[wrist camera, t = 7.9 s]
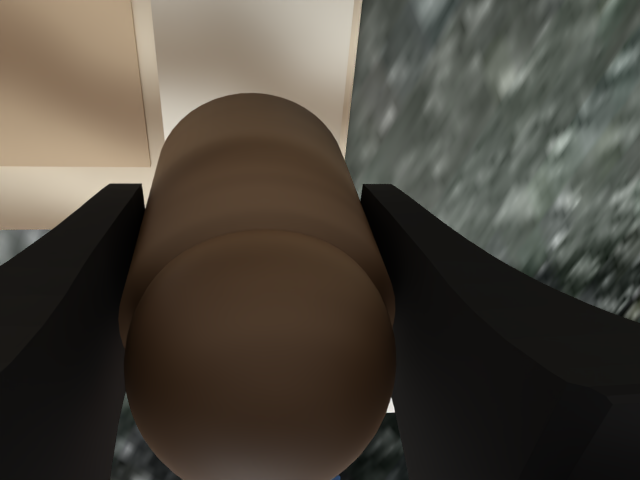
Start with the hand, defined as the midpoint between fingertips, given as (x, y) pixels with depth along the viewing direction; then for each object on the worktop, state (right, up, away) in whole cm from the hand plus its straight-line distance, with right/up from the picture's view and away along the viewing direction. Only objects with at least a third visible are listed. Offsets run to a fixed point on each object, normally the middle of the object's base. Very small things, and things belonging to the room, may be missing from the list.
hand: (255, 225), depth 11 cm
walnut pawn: (0, +1, +1) cm, 2 cm away
